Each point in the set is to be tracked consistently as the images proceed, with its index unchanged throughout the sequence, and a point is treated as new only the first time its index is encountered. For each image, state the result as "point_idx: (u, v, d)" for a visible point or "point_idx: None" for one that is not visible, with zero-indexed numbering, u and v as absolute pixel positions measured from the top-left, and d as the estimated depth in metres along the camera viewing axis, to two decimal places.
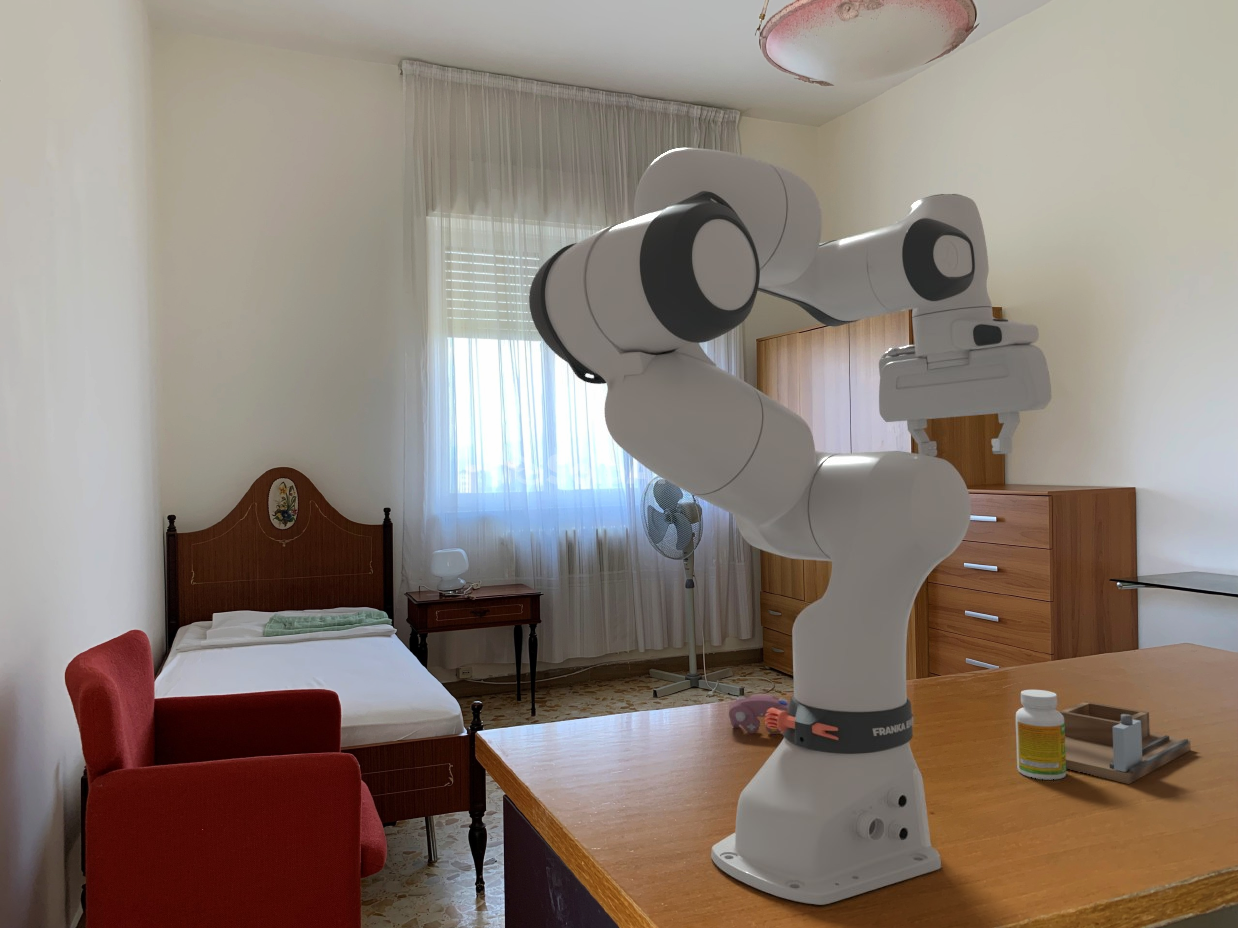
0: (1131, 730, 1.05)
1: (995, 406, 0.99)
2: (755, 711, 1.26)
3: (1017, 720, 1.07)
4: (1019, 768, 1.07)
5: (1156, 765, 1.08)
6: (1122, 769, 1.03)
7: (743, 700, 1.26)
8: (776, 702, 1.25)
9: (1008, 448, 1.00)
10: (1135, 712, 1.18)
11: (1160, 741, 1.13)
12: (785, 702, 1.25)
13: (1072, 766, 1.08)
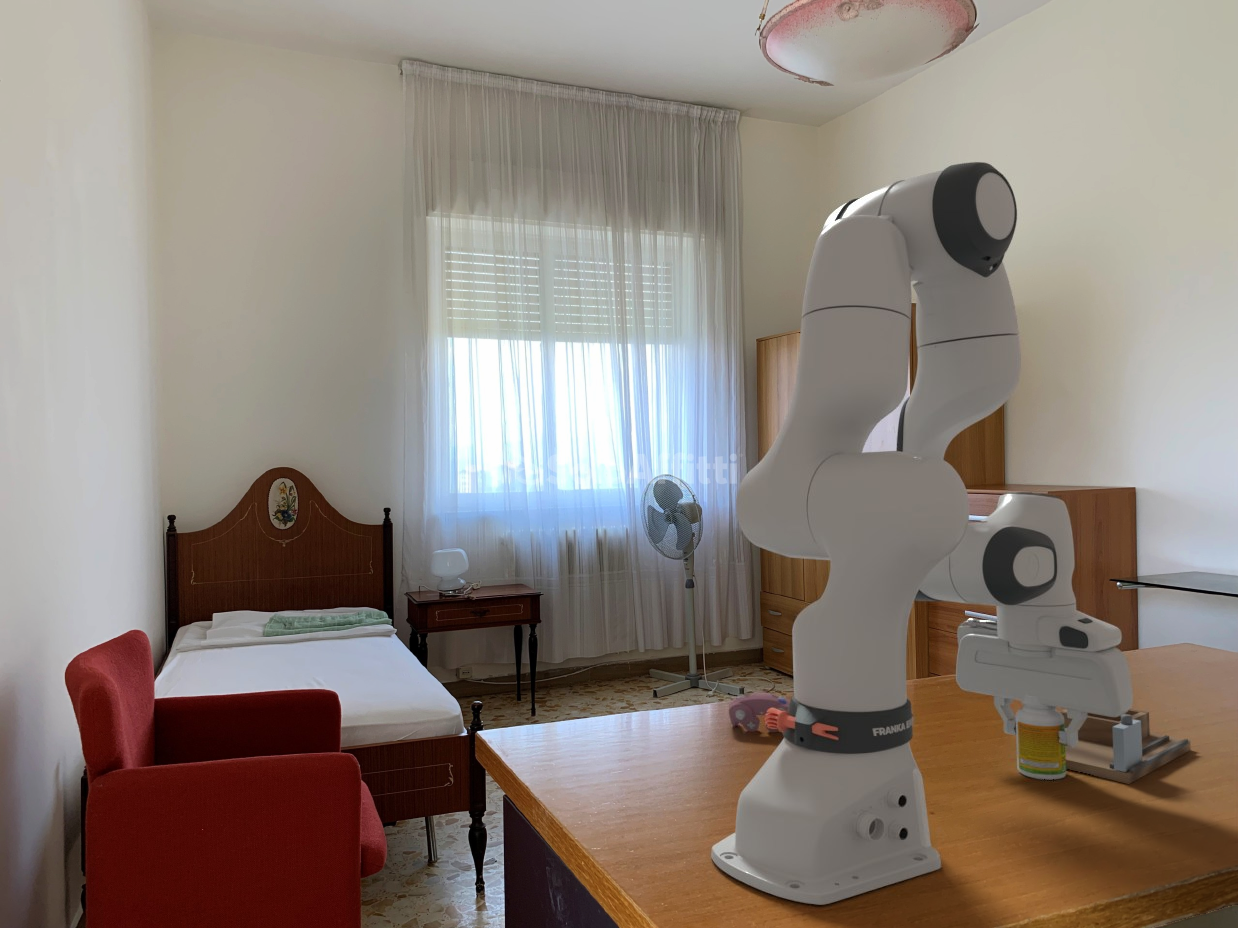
0: (1131, 730, 1.05)
1: (1076, 704, 1.02)
2: (755, 709, 1.27)
3: (1017, 720, 1.07)
4: (1019, 768, 1.07)
5: (1156, 765, 1.08)
6: (1122, 769, 1.03)
7: (743, 698, 1.27)
8: (776, 700, 1.26)
9: (1075, 741, 1.04)
10: (1135, 712, 1.18)
11: (1160, 741, 1.13)
12: (785, 700, 1.26)
13: (1072, 766, 1.08)
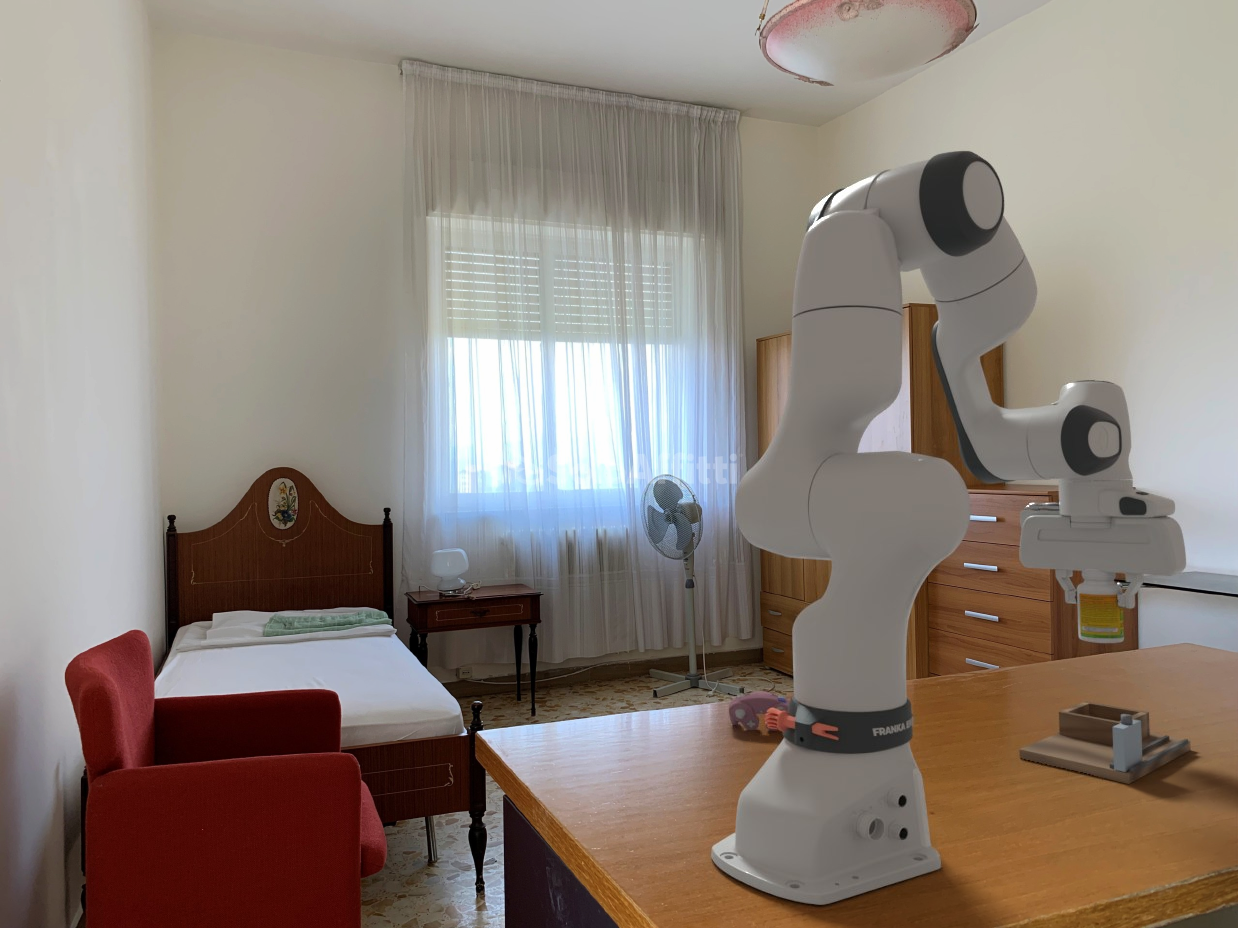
0: (1131, 730, 1.05)
1: (1135, 568, 1.13)
2: (755, 708, 1.28)
3: (1079, 592, 1.19)
4: (1080, 635, 1.18)
5: (1156, 765, 1.08)
6: (1122, 769, 1.03)
7: (743, 697, 1.28)
8: (775, 699, 1.26)
9: (1132, 603, 1.15)
10: (1135, 712, 1.18)
11: (1160, 741, 1.13)
12: (784, 699, 1.27)
13: (1072, 766, 1.08)
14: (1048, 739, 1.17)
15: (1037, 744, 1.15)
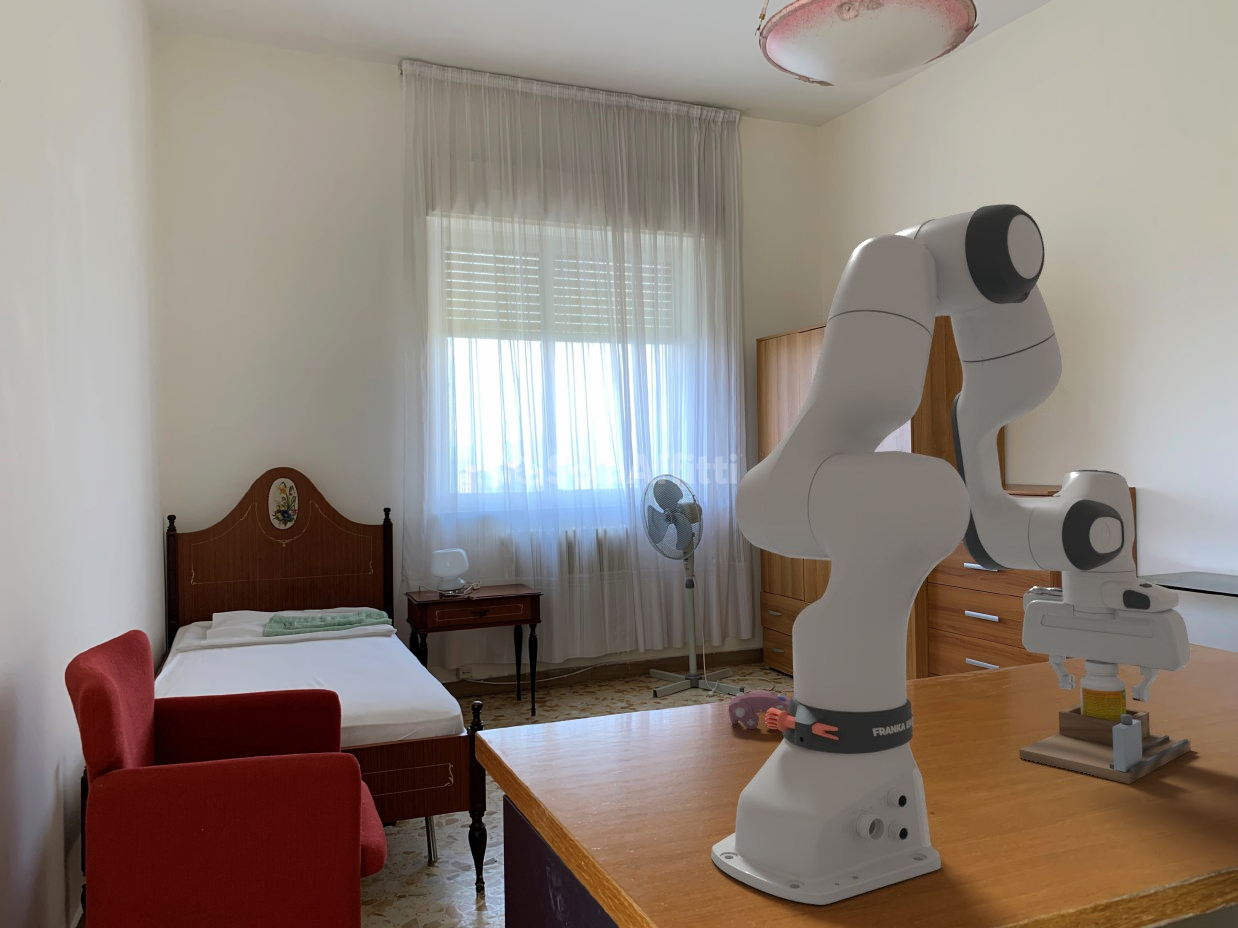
0: (1131, 730, 1.05)
1: (1138, 660, 1.13)
2: (754, 707, 1.28)
3: (1082, 686, 1.18)
4: None
5: (1156, 765, 1.08)
6: (1122, 769, 1.03)
7: (743, 696, 1.28)
8: (775, 698, 1.27)
9: (1147, 697, 1.14)
10: (1135, 712, 1.18)
11: (1160, 741, 1.13)
12: (784, 698, 1.27)
13: (1072, 766, 1.08)
14: (1048, 739, 1.17)
15: (1037, 744, 1.15)
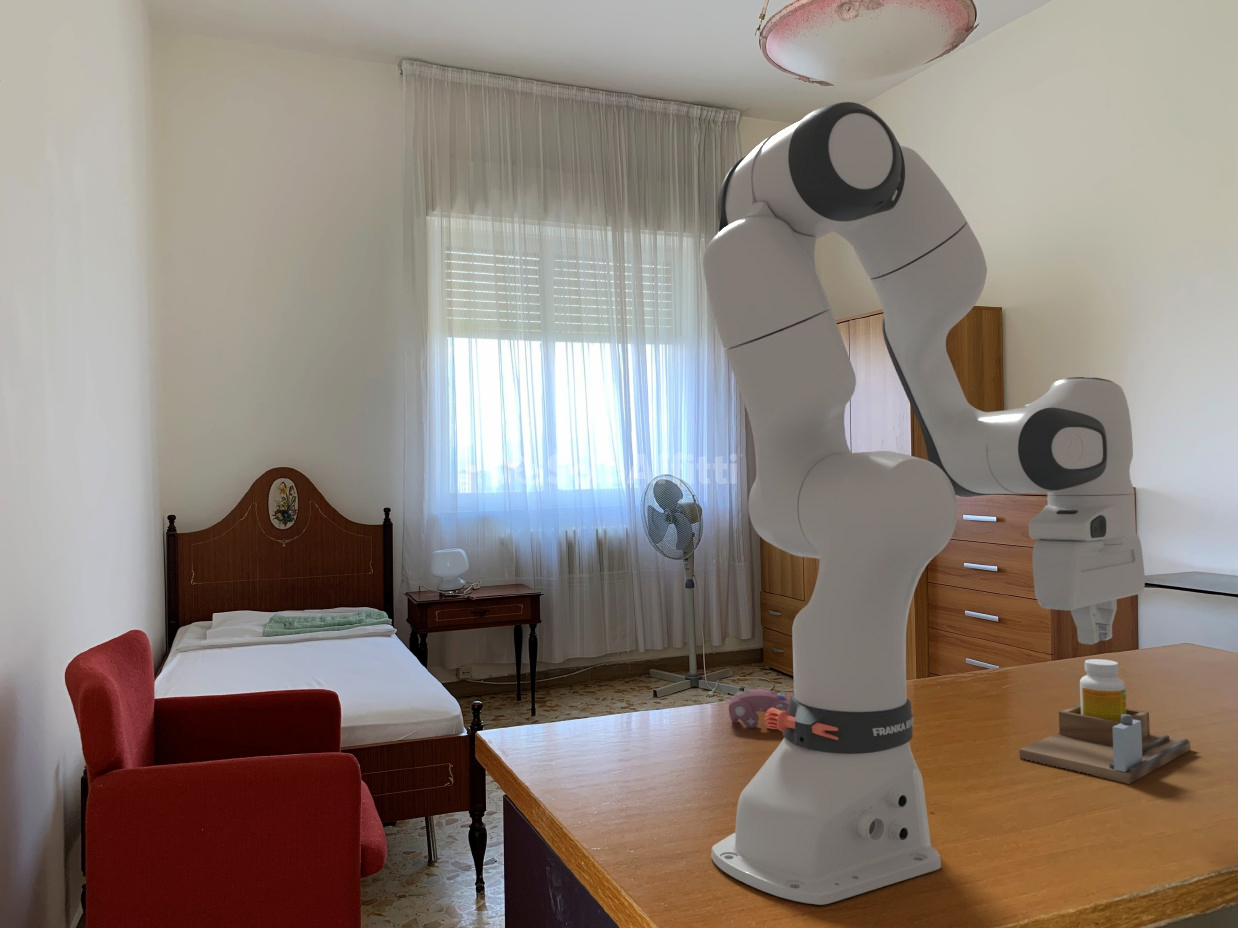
0: (1131, 730, 1.05)
1: None
2: (754, 706, 1.29)
3: (1082, 686, 1.18)
4: None
5: (1156, 765, 1.08)
6: (1122, 769, 1.03)
7: (743, 695, 1.29)
8: (775, 697, 1.28)
9: (1086, 639, 0.99)
10: (1135, 712, 1.18)
11: (1160, 741, 1.13)
12: (784, 697, 1.28)
13: (1072, 766, 1.08)
14: (1048, 739, 1.17)
15: (1037, 744, 1.15)
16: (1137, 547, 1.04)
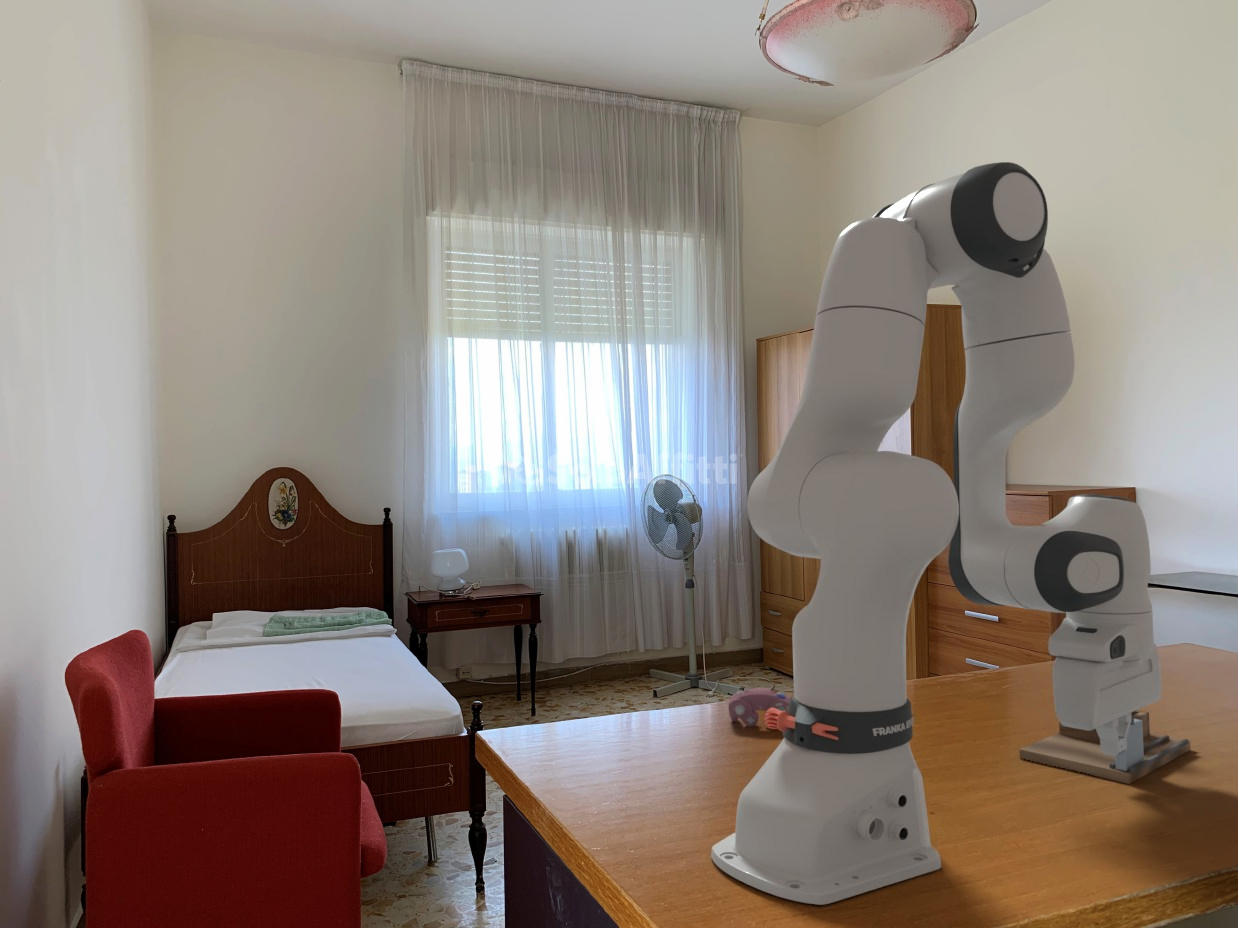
0: (1133, 729, 1.05)
1: None
2: (754, 705, 1.30)
3: None
4: None
5: (1156, 765, 1.08)
6: (1124, 768, 1.04)
7: (742, 694, 1.30)
8: (775, 696, 1.28)
9: (1108, 750, 1.02)
10: (1135, 712, 1.18)
11: (1160, 741, 1.13)
12: (783, 696, 1.29)
13: (1072, 766, 1.08)
14: (1048, 739, 1.17)
15: (1037, 744, 1.15)
16: (1154, 656, 1.06)
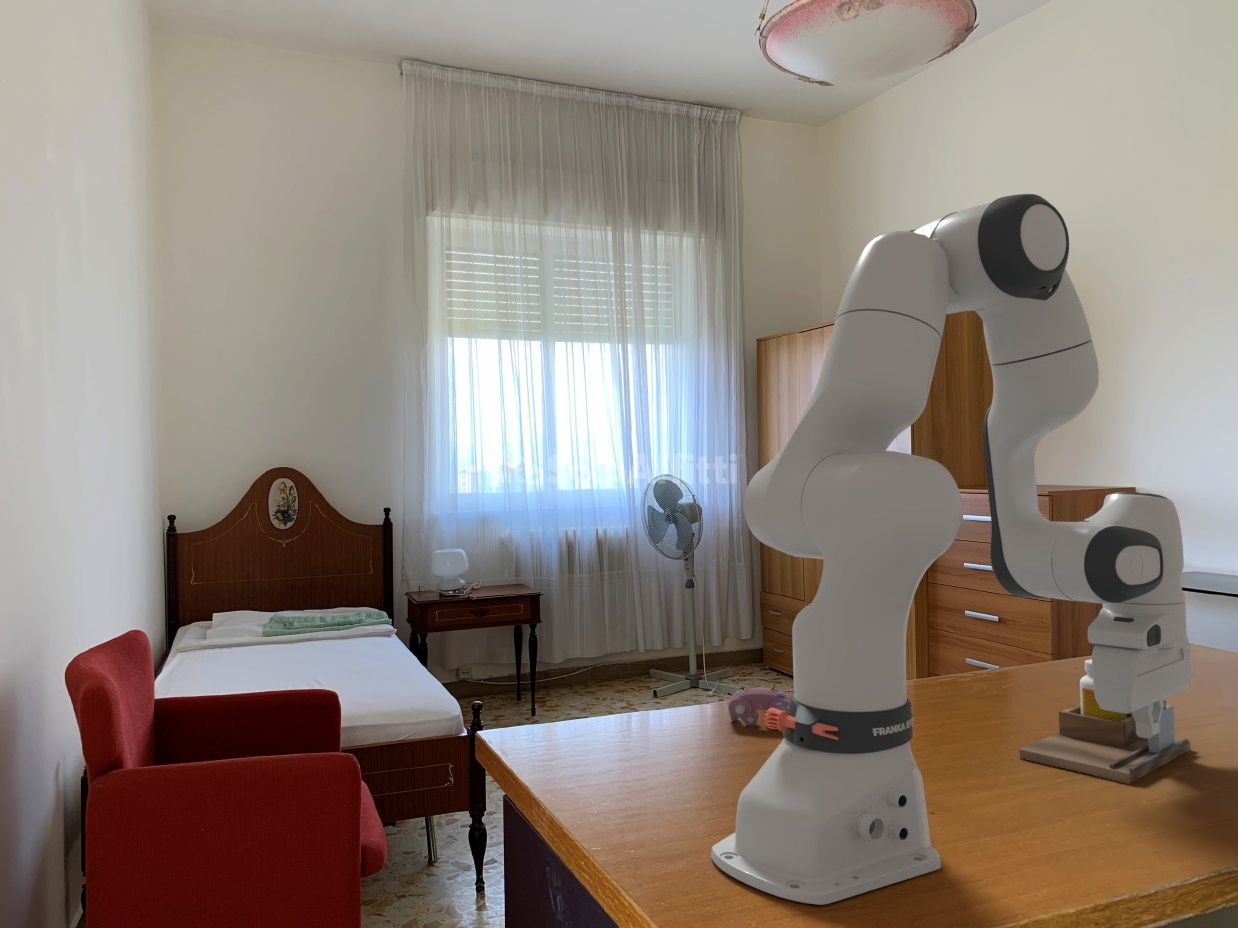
0: (1165, 714, 1.11)
1: None
2: (754, 704, 1.30)
3: (1082, 686, 1.18)
4: None
5: (1156, 765, 1.08)
6: (1156, 751, 1.10)
7: (742, 693, 1.30)
8: (774, 695, 1.29)
9: (1144, 733, 1.08)
10: None
11: None
12: (783, 695, 1.29)
13: (1072, 766, 1.08)
14: (1048, 739, 1.17)
15: (1037, 744, 1.15)
16: (1185, 645, 1.12)
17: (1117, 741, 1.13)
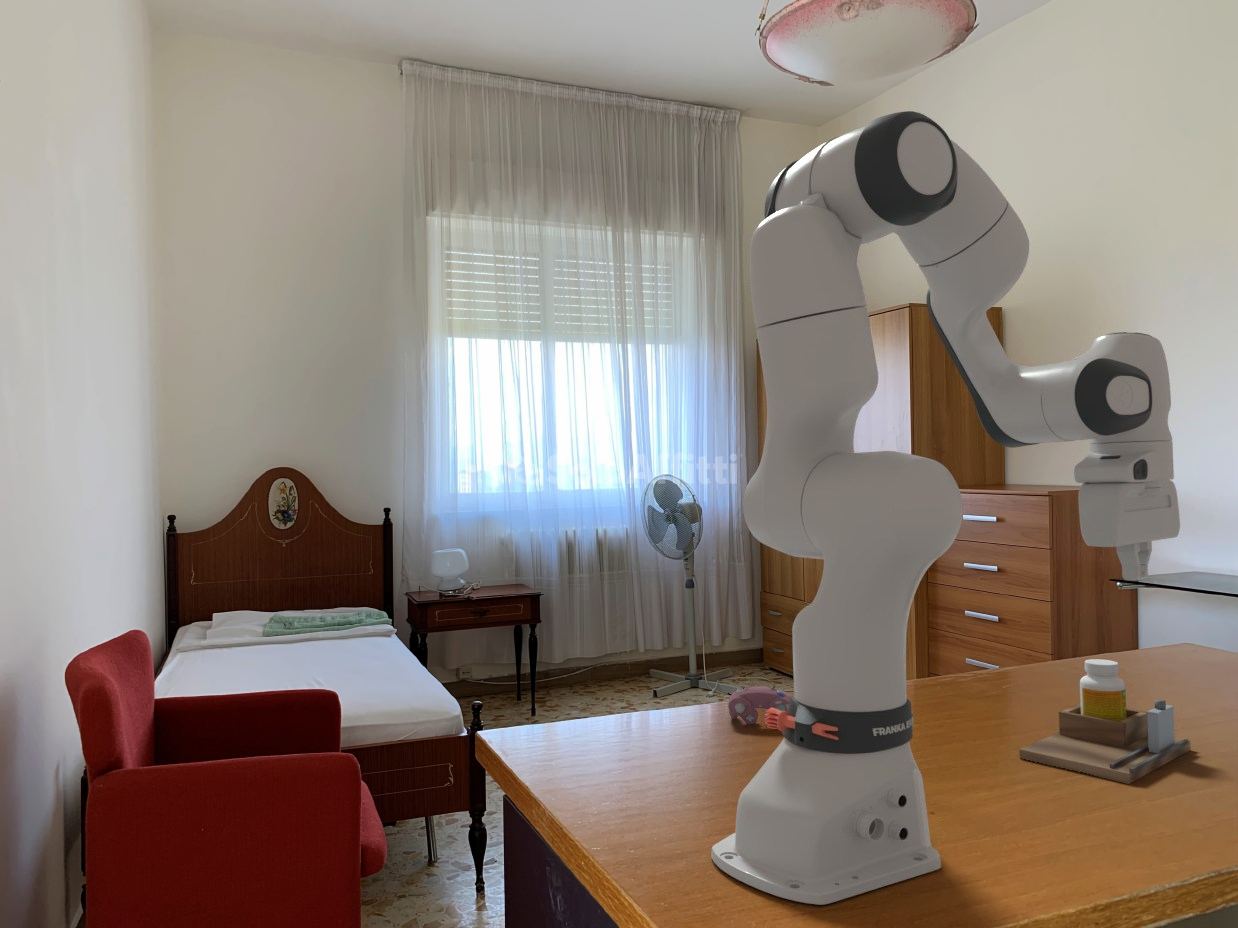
0: (1165, 714, 1.11)
1: None
2: (754, 703, 1.31)
3: (1082, 686, 1.18)
4: None
5: (1156, 765, 1.08)
6: (1156, 751, 1.10)
7: (742, 692, 1.31)
8: (774, 694, 1.30)
9: (1130, 576, 1.07)
10: (1135, 712, 1.18)
11: None
12: (783, 694, 1.30)
13: (1072, 766, 1.08)
14: (1048, 739, 1.17)
15: (1037, 744, 1.15)
16: (1173, 493, 1.12)
17: (1117, 741, 1.13)
